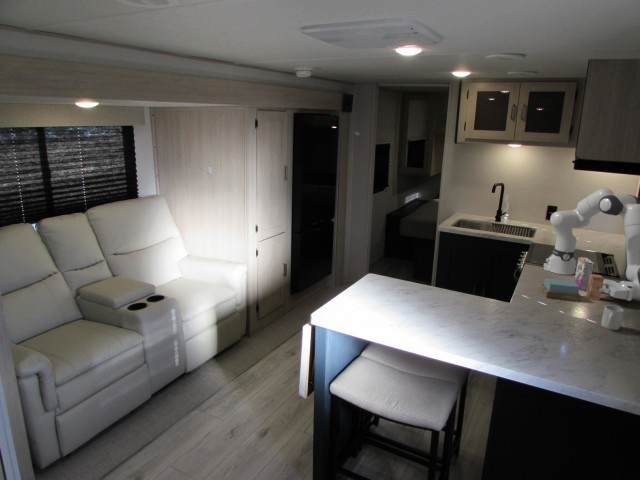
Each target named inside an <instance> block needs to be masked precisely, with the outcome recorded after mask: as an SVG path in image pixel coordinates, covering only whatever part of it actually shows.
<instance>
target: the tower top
mask: <svg viewBox="0 0 640 480" xmlns="http://www.w3.org/2000/svg"><path fill="white" fill-rule="evenodd" d="M543 284H544V286H545V287H546V288H547V289H548V291H551V292H560V293H570V294H578V293H579V291H580V290H579V286H578V285H577V284H576V283H575V282H574V280H567V279H556V278H547V277H546V278H545V279H544V283H543Z"/></svg>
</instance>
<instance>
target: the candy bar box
mask: <svg viewBox="0 0 640 480" xmlns="http://www.w3.org/2000/svg"><path fill="white" fill-rule="evenodd" d="M594 267H595V263H594V262H593V261H591V259H589V258H588V257H582V256H581V257H580V256H579V257H578V259H577V263H576V268H575V271H576V274H574V276H575V277H574V280H573V281H574V282H575V283H576V284H577V285H578V286H579V291H581V292H587V288H588V283H589V278H590V274H591V275H593V273H594Z"/></svg>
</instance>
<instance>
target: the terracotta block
mask: <svg viewBox="0 0 640 480" xmlns="http://www.w3.org/2000/svg"><path fill="white" fill-rule="evenodd" d="M604 279H605V278H604V276H602V275H599V274H592V275H591V274H590V278H589V283H588V288H587V291H586V294H585V296H586V298H587V299H589V300H594V301H596V300H597V301H600V300H601V295H602V292H600V291H599V288H602V286H603V281H604Z"/></svg>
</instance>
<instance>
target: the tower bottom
mask: <svg viewBox="0 0 640 480" xmlns="http://www.w3.org/2000/svg"><path fill="white" fill-rule="evenodd" d="M540 292H541V293H542V294H543V295H544V297H545V298H546V299H551V300H558V299H560V300H559V301H561V300H562V301H567V300H568V301H569V302H576V301H577V302H578V303H580V302H581V299H582V296H581V294H580V293H579V292H578V294H570V293H560V292H551V291H548V289H547V288H546V287H545V286H544V283H541V286H540Z"/></svg>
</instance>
